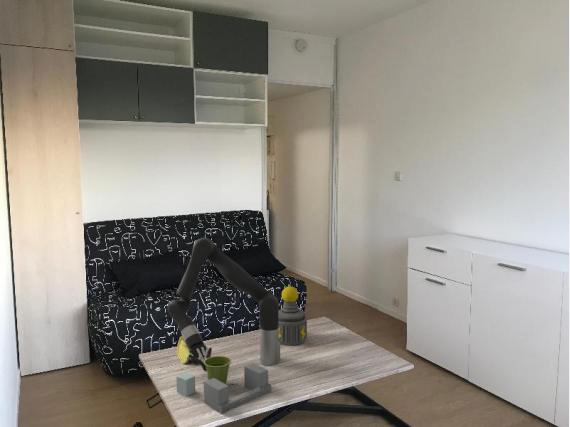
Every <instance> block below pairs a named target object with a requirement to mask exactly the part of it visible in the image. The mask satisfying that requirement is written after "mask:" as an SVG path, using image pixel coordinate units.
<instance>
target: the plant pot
mask: <svg viewBox="0 0 570 427" xmlns="http://www.w3.org/2000/svg"><path fill="white" fill-rule="evenodd" d="M231 363H232V359H231V358H229V357H228V356H226V355H225V356H224V355H215V356H213V355H212V356H210V357H209V358H207V359H205V360H204V364H205V366H206V369H207V372H206V374H207V380H210V379H212V378H215V379H217V380H219V381H220V382H222V383H224V384H226V385H227V380H228V374H229V369H230V367H231V366H230V364H231Z"/></svg>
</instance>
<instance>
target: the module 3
mask: <svg viewBox="0 0 570 427" xmlns="http://www.w3.org/2000/svg"><path fill="white" fill-rule="evenodd" d="M243 368H244V369H243V372H244V375H243V376H244V378H243V380H244V387H245V388H247V389H249V390H253V389H255V388H257V387H261V386H263V385H266V384H269V369H267V368H265V367H263V366H260V365H258V364H256V363H254V362H252V363H249V364H247V365H244V367H243Z"/></svg>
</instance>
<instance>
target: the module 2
mask: <svg viewBox="0 0 570 427" xmlns="http://www.w3.org/2000/svg"><path fill="white" fill-rule="evenodd" d="M229 387H230V386H229V385H227V383H226V384H224V383H222V382H220V381H219V380H217V379H215V378H212V379H210V380H208V379H207V380H205V381H203V403H204V404H205V405H206V406H208V407H210V408H212V409H213V410H215V411H216V412H218V413H219V404H222V403H224V402H226V401H229V400H230V398H229V396H230V394H229V391H230V390H229Z"/></svg>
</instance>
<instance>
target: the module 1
mask: <svg viewBox="0 0 570 427" xmlns="http://www.w3.org/2000/svg"><path fill="white" fill-rule="evenodd" d="M175 378H176V393H178V394H181V395H183V396H185V397H188V396H189V395H191V394H193V393H195V392H196V375H194V374H191V373H189V372H183V373H181V374H179V375H177V376H176V377H175Z"/></svg>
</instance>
